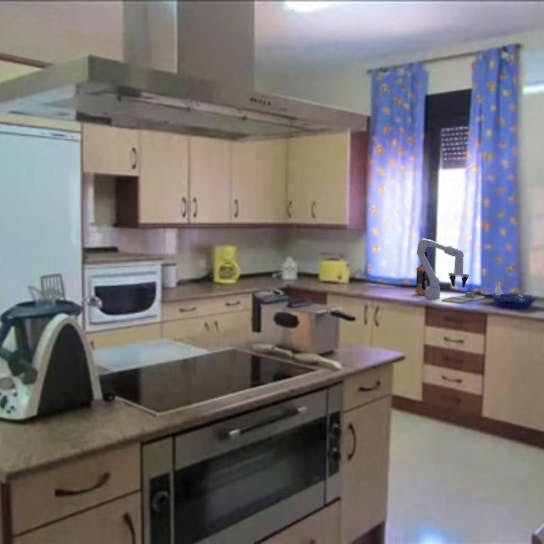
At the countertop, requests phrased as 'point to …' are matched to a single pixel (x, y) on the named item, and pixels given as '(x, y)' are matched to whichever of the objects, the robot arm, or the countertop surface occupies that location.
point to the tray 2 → (473, 299)
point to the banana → (499, 289)
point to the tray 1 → (456, 300)
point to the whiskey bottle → (422, 279)
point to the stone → (470, 295)
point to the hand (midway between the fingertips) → (458, 286)
